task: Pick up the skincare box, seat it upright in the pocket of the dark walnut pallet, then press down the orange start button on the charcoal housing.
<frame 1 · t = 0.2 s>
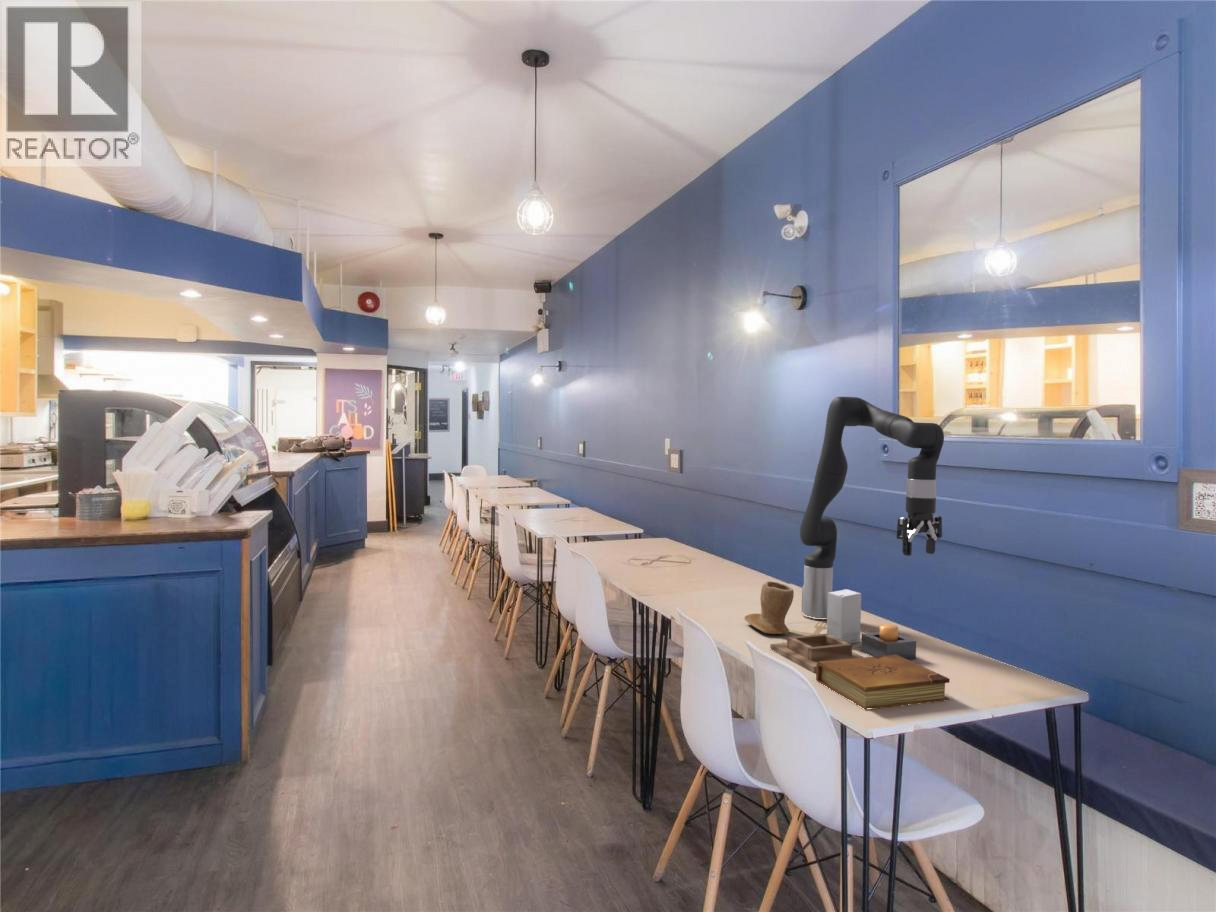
hand: (918, 554, 190), 29 cm above the table, tool pointing down, fingers open, 8 cm apart
brown hat: (770, 630, 216), on the table
button housing: (888, 655, 193), on the table
skincare box: (843, 642, 205), on the table
walnut pallet: (818, 657, 190), on the table
start button: (888, 633, 193), point 6 cm above the table, slide at 0.0 cm
diary: (880, 692, 166), on the table
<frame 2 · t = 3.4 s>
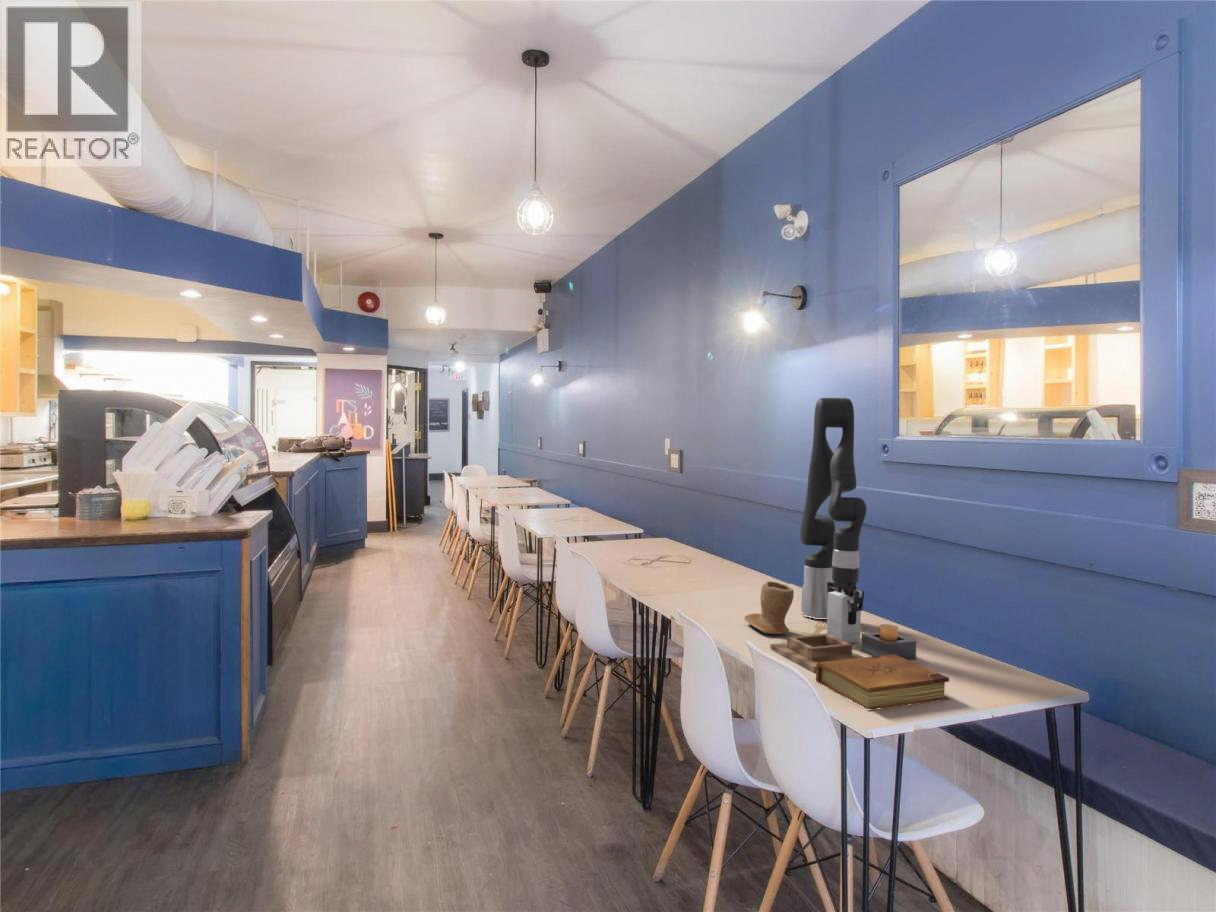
hand: (844, 621, 204), 6 cm above the table, tool pointing down, fingers closed on skincare box, 6 cm apart
skincare box: (843, 642, 205), on the table, touching gripper
everything else where it was.
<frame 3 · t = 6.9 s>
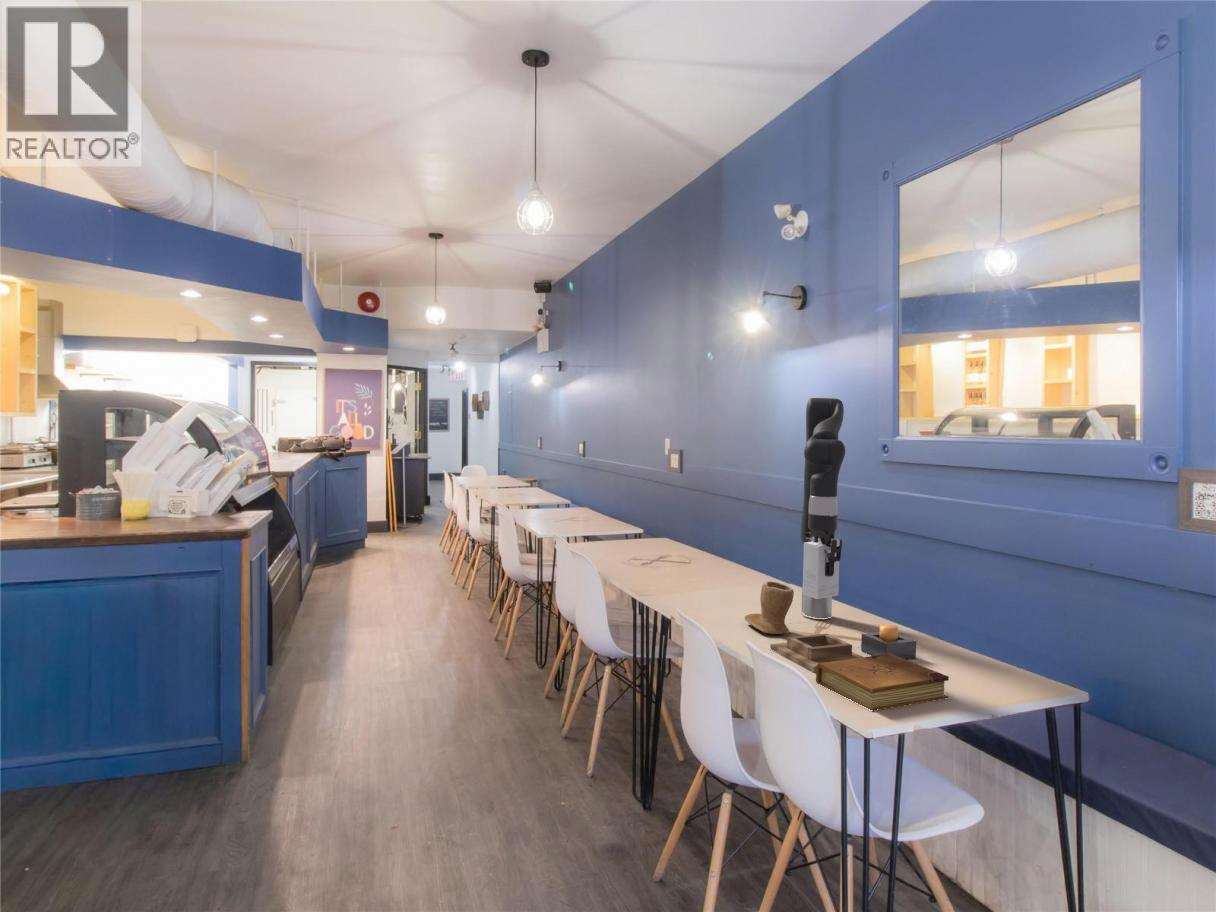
hand: (821, 573, 189), 23 cm above the table, tool pointing down, fingers closed on skincare box, 6 cm apart
skincare box: (820, 596, 190), point 17 cm above the table, touching gripper
everything else where it was.
when the fingers open (9 cm above the table, at t = 10.4 s): skincare box drops 1 cm, resting on walnut pallet.
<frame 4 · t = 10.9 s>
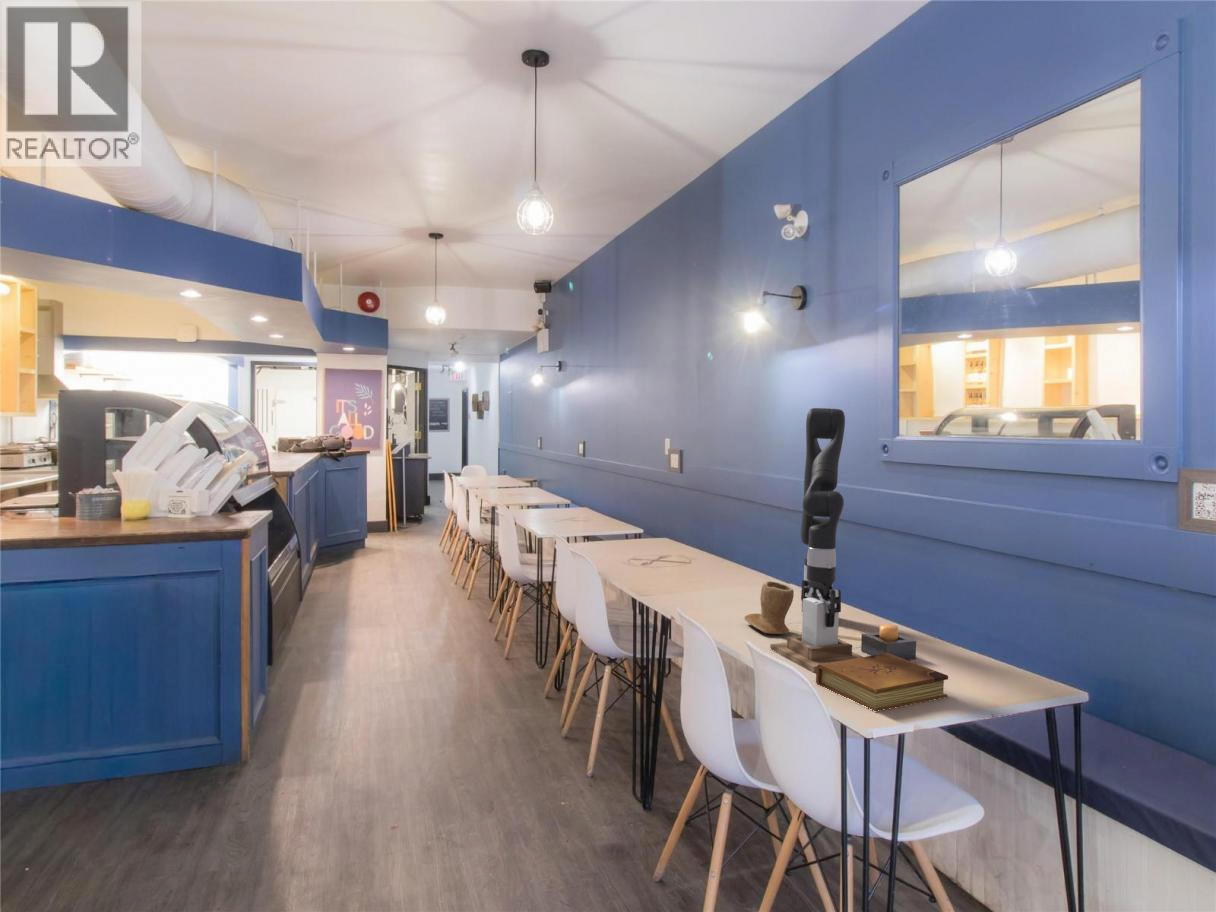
hand: (819, 622, 190), 10 cm above the table, tool pointing down, fingers open, 8 cm apart
skincare box: (819, 652, 190), point 1 cm above the table, touching walnut pallet
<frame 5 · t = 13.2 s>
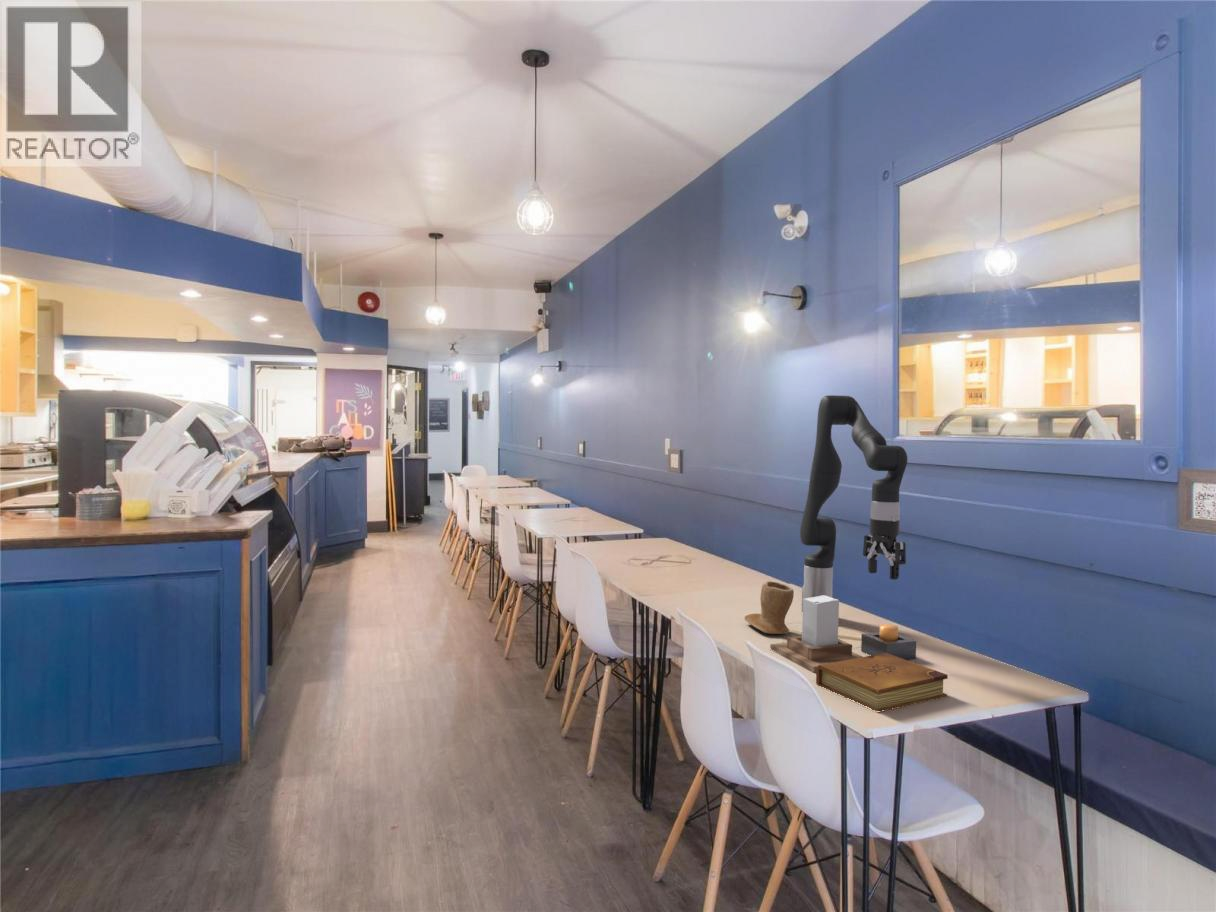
hand: (883, 576, 192), 22 cm above the table, tool pointing down, fingers open, 8 cm apart
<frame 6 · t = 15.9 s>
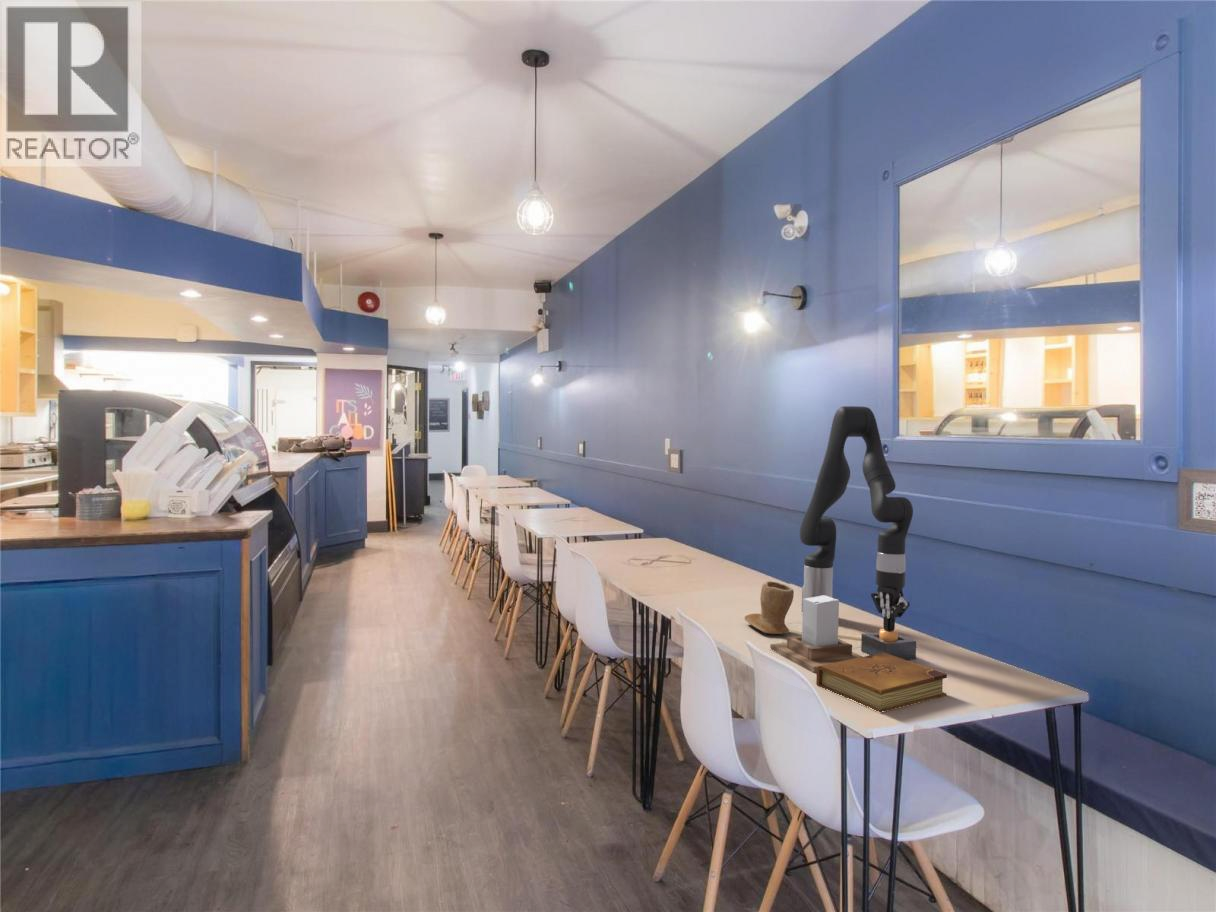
hand: (888, 630, 192), 7 cm above the table, tool pointing down, fingers closed
start button: (888, 637, 193), point 5 cm above the table, slide at 1.1 cm, touching gripper
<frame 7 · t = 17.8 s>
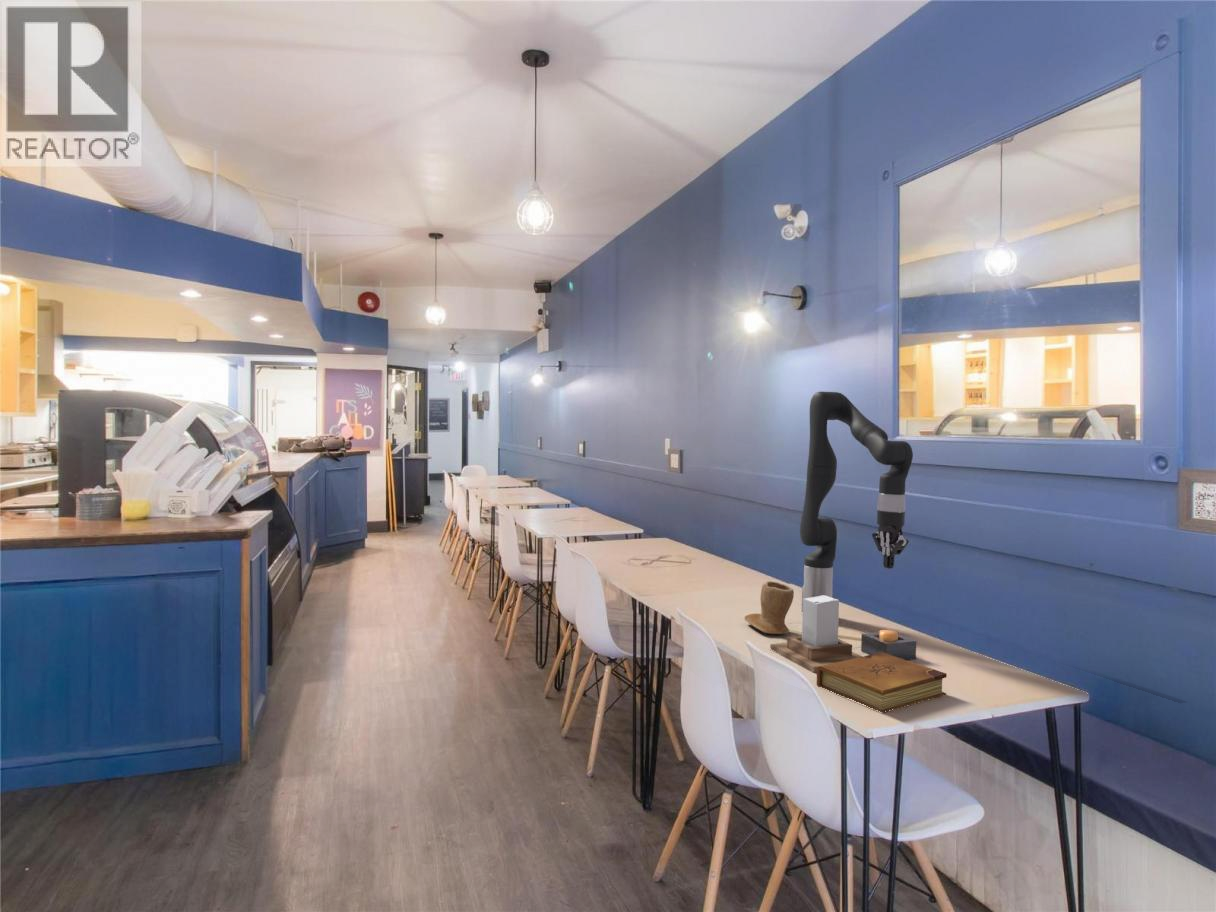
hand: (888, 567, 203), 22 cm above the table, tool pointing down, fingers closed
start button: (888, 639, 193), point 4 cm above the table, slide at 1.6 cm
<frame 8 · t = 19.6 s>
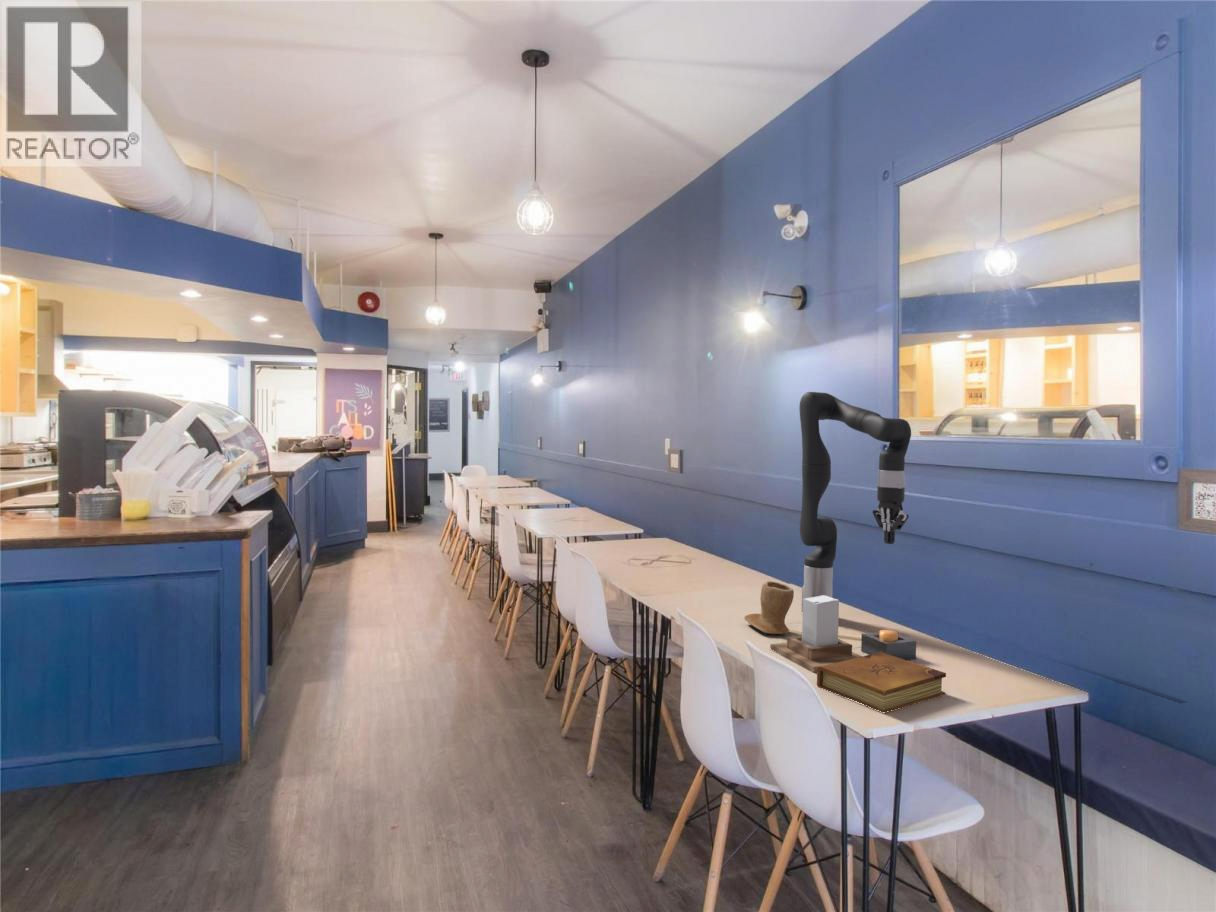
hand: (889, 543, 206), 29 cm above the table, tool pointing down, fingers closed
at the end: skincare box 0.1 cm off-centre on the walnut pallet, point 1.3 cm above the walnut pallet's base; skincare box tilted 0°; start button slide at 1.6 cm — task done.
